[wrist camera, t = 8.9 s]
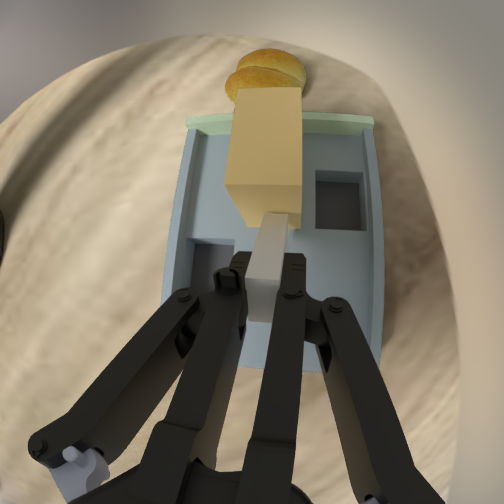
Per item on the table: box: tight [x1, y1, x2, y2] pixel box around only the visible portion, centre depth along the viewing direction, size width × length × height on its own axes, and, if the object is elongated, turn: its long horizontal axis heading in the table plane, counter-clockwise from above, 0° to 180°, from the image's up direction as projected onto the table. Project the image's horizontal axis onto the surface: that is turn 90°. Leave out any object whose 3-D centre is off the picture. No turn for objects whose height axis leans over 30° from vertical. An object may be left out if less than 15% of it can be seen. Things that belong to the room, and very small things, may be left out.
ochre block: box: [224, 87, 302, 229], centre depth 19 cm, size 7×4×8 cm, turn 176°
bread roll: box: [225, 49, 306, 103], centre depth 26 cm, size 8×9×4 cm
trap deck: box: [160, 112, 385, 372], centre depth 22 cm, size 20×16×4 cm
